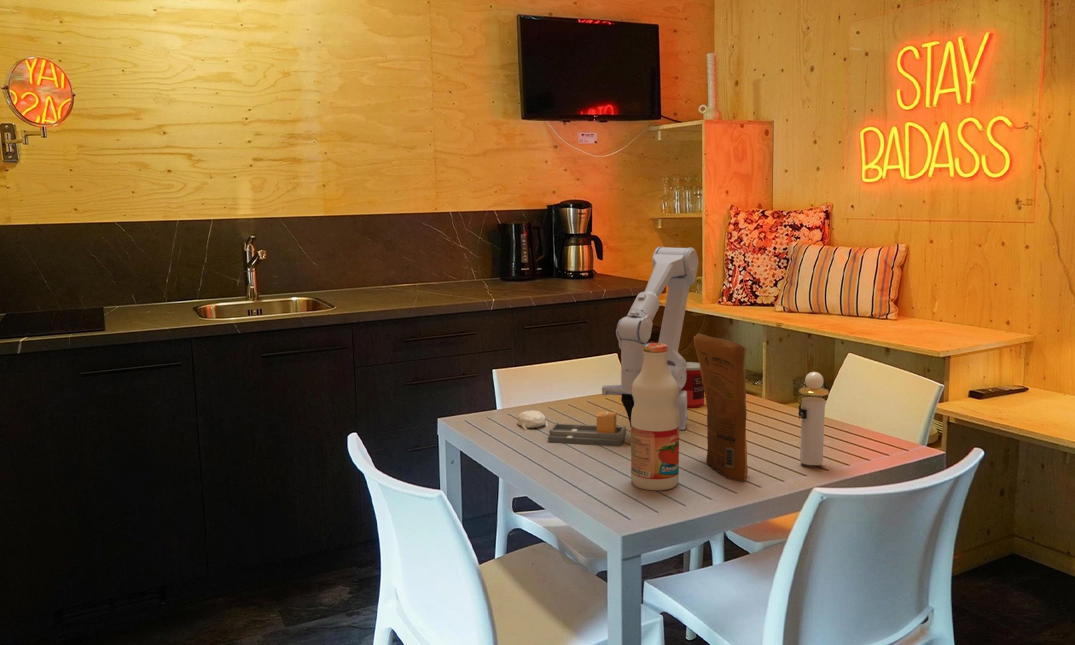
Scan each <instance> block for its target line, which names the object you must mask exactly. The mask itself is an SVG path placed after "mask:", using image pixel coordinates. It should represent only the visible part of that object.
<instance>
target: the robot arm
mask: <svg viewBox="0 0 1075 645" xmlns="http://www.w3.org/2000/svg"><path fill="white" fill-rule="evenodd" d="M651 257H652V259H651V263H652V264H651V265H652V269H653V270H652V273H651V274H650V276H649V279H648V282H647V285H646V287H645V289H644V291H641V292H639V293H638V294H637V296H636V298H635V299H634V301H633V303H632V305H631V306H630V309H629V311H628V313H627V315H626V316H624V317H622V318H621V319H620V318H619V320H618V323H617V324H616V330H615V334H616V338H617V341H618V348H619V350H620V351H621V352H620V354H621V355H620V363H621V364H620V366H621V369H620V370H621V371H620V377H621V378H620V380H621V381H620V384H615V385H613V384H611V385H609V384H608V385H605V384H603V385H602V387H601V395H602V396H609V395H610V396H621V398H620V402H621V403H622V405H623V407H624V408H625V409H624V410H625V411H626V414H627V417H628V422H629V427H630V428H631V413H632V409H633V407H634V399H633V396H632V384H633V382H634V380H635V379H636V377H637V376H638V375H639V374H640V372H641V369H642V366H643V363H644V354H643V350H642V349H643V345H644V344H647V343H648V342H649V340H650V339H651V337H652V336H651V334H652V330H653V329H652V328H653V324H654V323H653V320H654V318H655V316H656V314H657V312H658V310H659V308H660V306H661V302H660V299H659V298H660V296H661V295H662V293H663V291H664V289H665V288H666V286H667V295H666V300H665V305H664V311H663V316H662V322H661V327H660V332H659V337H658V342H657V343H662V344H666V345H668V354H667V355H666V359H667V364H668V368H669V370H670V373H671V375H672V376H673V377H674V379H675V380H676V382H677V384H678V388H679V394H678V398H677V401H676V407H677V409H678V412H679V431H680V430H683V431H684V430H686V426H687V423H688V420H689V414H688V408H687V391H681V389H682V388H683V387H684V385H685V383H686V376H687V375H686V366H687V362H688V361H686V359H685V358H684V357H683V355H681V354H680V353H679V348H680V341H681V336H682V332H683V325H684V319H685V313H686V307H687V302H688V298H689V292H690V286H692V285H693V284H695V282H696V278H697V272H698V268H699V258H698V254H697V251H696V250H695V248H694V247H667V246H666V247H665V246H657V247H656V248H655V250H654V251H653V254H652V256H651Z"/></svg>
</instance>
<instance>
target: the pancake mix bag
mask: <svg viewBox="0 0 1075 645" xmlns="http://www.w3.org/2000/svg"><path fill="white" fill-rule="evenodd" d="M693 346H694V349H695V352H696V356H697V359H698V363H699V364H700V370H701V376H702V382H703V386H704V399H705V403H706V412H707V414H706V420H707V421H706V425H707V428H706V429H707V438H706V440H707V450H706V451H707V452H706V464H707V465H709V466H710V467H712V468H713V469H714V470H716V471H717V472H718V473H720V474H721V475H722V476H724V478H726V479H730V480H733V481H740V482H742V481H743V482H746V481H747V479H746V478H748V474H749V473H748V470H749V468H748V447H747V431H746V430H747V429H746V428H747V402H746V397H747V388H746V384H747V383H746V357H747V356H746V355H747V348H746V347H745V346H743V345H742V344H741V343H738V342H736V341H732V340H727V339H725V338H719V337H712V336H709V335H707V334H702V333H699V332H698V333H697V334H695V336H693Z"/></svg>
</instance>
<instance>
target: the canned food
mask: <svg viewBox="0 0 1075 645" xmlns="http://www.w3.org/2000/svg"><path fill="white" fill-rule="evenodd" d="M686 362H687V366H686V375H687V376H686V383H685V385H684V387H683V388H682V389H681V391H687V409H696V408H697V409H699V408H701V406H702V407H703V406H704V403H705V392H704V386H703V382H702V376H701V370H700V364H699V362H694V361H693V362H692V361H689V362H688V361H686Z"/></svg>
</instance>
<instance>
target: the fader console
mask: <svg viewBox="0 0 1075 645" xmlns="http://www.w3.org/2000/svg"><path fill="white" fill-rule="evenodd" d="M626 427H627V426H626V425H622V426H621V425H616V433H599V432H597V424H581V423H563V422H558V421H557V422H556V421H555V422H554V424H553V425H552V426H551V428H549V431H548V432H549V433H548V434H549V435H548V437H547V442H548V443H555V444H556V443H558V444H559V443H560V444H573V443H577V444H578V445H591V444H595V445H597V446H614V447H615V446H616V447H622V445H621V444H623V442H624V440H625V437H626V436H627V434H628V433H627V432H628V430H627V428H626ZM626 433H627V434H626ZM595 445H594V446H595Z"/></svg>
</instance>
